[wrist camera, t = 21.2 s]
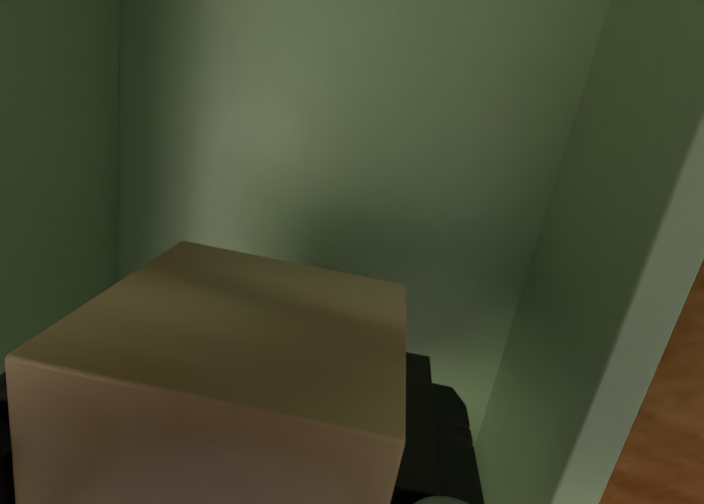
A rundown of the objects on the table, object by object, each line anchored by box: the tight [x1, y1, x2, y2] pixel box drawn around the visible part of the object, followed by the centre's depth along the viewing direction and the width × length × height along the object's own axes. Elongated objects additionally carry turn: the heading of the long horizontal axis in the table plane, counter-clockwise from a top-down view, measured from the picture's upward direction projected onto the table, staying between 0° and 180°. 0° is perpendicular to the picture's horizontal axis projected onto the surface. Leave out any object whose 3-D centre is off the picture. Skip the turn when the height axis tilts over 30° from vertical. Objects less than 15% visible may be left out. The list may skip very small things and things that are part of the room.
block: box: [5, 241, 407, 504], centre depth 8 cm, size 4×4×4 cm
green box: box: [0, 0, 704, 504], centre depth 11 cm, size 16×13×6 cm
